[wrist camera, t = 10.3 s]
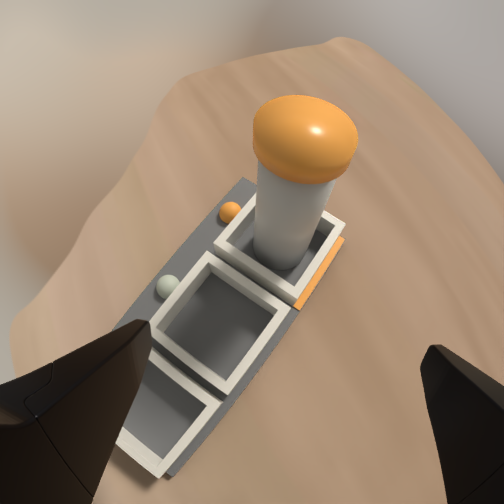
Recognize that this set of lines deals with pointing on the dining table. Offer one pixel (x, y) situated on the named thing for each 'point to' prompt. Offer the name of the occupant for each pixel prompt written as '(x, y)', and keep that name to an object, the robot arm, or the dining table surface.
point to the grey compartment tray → (213, 328)
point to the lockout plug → (296, 173)
